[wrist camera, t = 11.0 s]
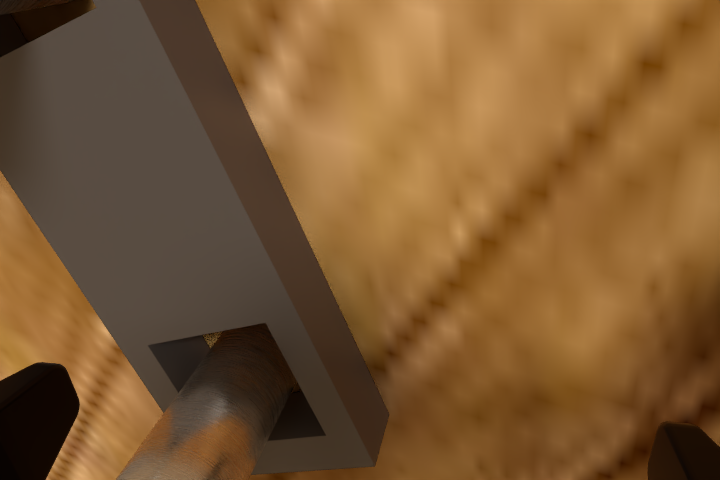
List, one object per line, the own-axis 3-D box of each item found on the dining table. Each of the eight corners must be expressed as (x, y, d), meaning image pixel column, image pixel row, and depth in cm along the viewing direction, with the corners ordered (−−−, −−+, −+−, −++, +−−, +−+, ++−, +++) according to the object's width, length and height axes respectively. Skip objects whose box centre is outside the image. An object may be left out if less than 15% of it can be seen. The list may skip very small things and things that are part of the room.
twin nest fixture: (49, -309, 16) (-39, -352, 14) (389, 414, 27) (374, 466, 24) (-130, -156, 20) (-227, -168, 17) (233, 430, 30) (207, 477, 28)
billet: (307, 319, 25) (139, 631, 14) (307, 384, 27) (160, 703, 16) (224, 302, 26) (3, 586, 15) (229, 367, 28) (39, 659, 17)
